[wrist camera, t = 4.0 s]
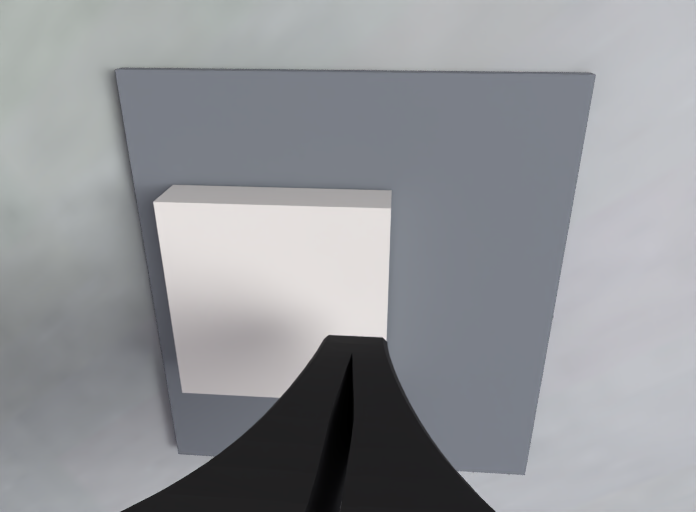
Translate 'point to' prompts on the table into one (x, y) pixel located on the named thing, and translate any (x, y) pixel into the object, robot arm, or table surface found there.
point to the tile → (269, 279)
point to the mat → (406, 221)
